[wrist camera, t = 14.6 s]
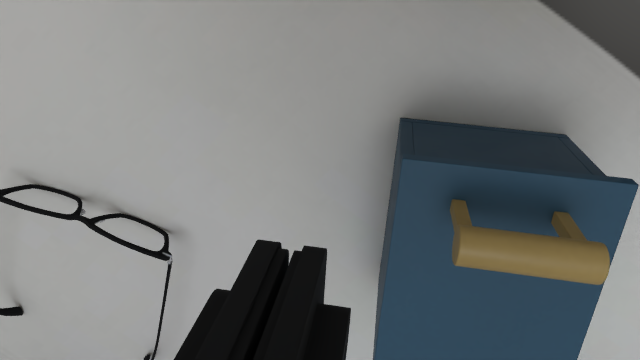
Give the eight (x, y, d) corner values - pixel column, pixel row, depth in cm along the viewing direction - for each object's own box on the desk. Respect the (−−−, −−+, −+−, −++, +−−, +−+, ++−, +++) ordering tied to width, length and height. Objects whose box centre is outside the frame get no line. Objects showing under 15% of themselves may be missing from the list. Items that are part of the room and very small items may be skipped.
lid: (402, 153, 25) (402, 201, 20) (632, 178, 24) (697, 237, 19) (372, 367, 31) (366, 448, 26) (556, 397, 30) (589, 488, 25)
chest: (400, 117, 35) (399, 169, 26) (566, 134, 33) (626, 195, 24) (378, 278, 40) (372, 366, 31) (520, 298, 39) (556, 396, 30)
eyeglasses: (195, 232, 41) (175, 258, 37) (163, 365, 48) (144, 398, 44) (11, 166, 41) (-27, 185, 38) (4, 307, 48) (-28, 335, 44)
